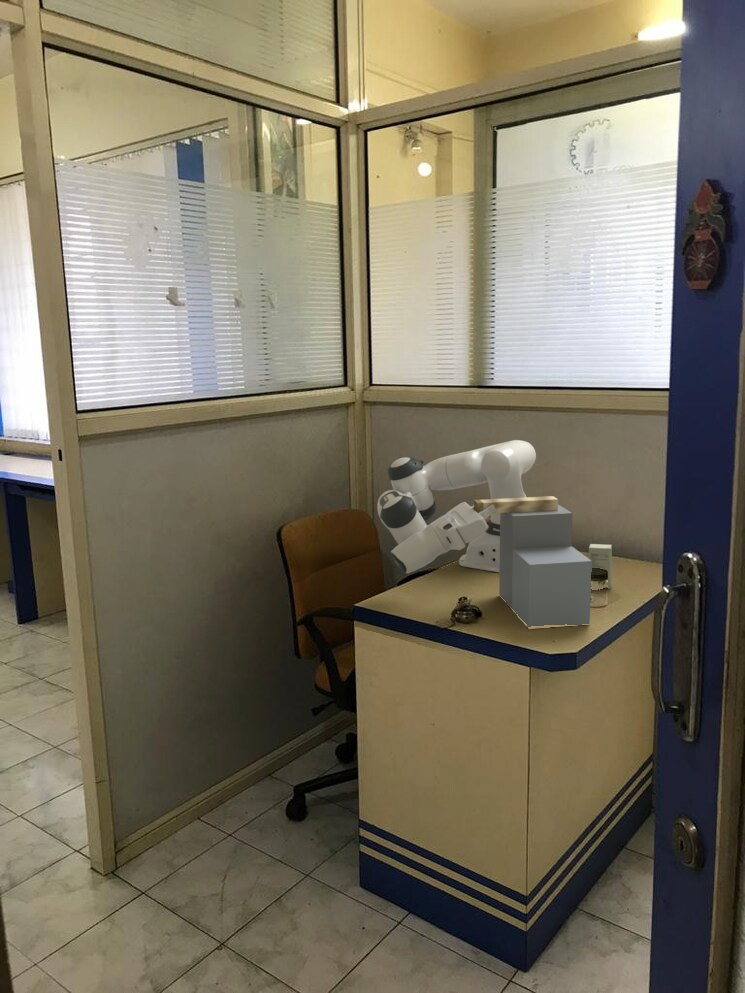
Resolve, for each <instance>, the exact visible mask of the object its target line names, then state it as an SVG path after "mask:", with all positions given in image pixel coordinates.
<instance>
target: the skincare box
mask: <svg viewBox="0 0 745 993" xmlns="http://www.w3.org/2000/svg"><path fill="white" fill-rule="evenodd" d="M588 546H589V547H588V559H590V560H591V561H592V568H600V569H605V570H607V571H608V583H607V585H608V589H609V590H610V589H611V587H612V559H613V558H612V557H613V556H612V555H613V554H612V553H613V552H612V550H613V549H612V548H613V547H612V544H605V543H604V544H603V543H602V544H598V543H590V544H589V545H588ZM608 589H607V590H608Z"/></svg>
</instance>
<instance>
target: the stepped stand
mask: <svg viewBox="0 0 745 993" xmlns="http://www.w3.org/2000/svg"><path fill="white" fill-rule="evenodd" d="M572 527H573V513H572V512H571V511H570V510H569V509H567V508H565V507H563V506H561V505H560V504H558V510H551V511H532V512H513V513H500V569H499V572H498V573H499V577H498V578H499V582H498V583H499V584H498V587H499V588H498V592H499V593H498V596H499V595H500V596H501V597H502V598H503V599H504V600H505V601H506V603H507V604H508V605H509V606H510V607H511V608H512V609H513V610H514V611H515V612H516V614H518V616H519V617H520V618H521V619H522V620H523V621H524V622H525V623H526V624H527V626H528V627H531V626H544V625H565V624H567V625H582V624H590V620H591V619H590V618H591V598H592V595H591V592H592V588H591V572H592V561H591V560H590V559H589V557H587V556H586V555H584V554H583V553H582V552H580V551H579V550H577V549H576V548H575V547H574V546H572V538H573V537H572V536H573V535H572V534H573V531H572V530H573V528H572ZM500 596H499V597H500ZM506 603H505V604H506ZM507 604H506V605H507ZM590 625H591V624H590Z"/></svg>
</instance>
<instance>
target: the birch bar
mask: <svg viewBox="0 0 745 993" xmlns="http://www.w3.org/2000/svg"><path fill="white" fill-rule="evenodd" d="M491 504H492V505H494V507H495V508H496V511H495V512H493V513H491V514H494V513H513V512H532V511H551V510H558V505H559V499H558V498H557V497H555V496H553V495H552V496H551V495H548V496H528V497H527V496H526V497H525V498H505V499H491V498H490V499H488V498H487V499H473V505H474V510H475V511H476V512H477V513H479V512H481V511H484V510H485V509H486V507H487V506H489V505H491Z"/></svg>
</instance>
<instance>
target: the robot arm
mask: <svg viewBox="0 0 745 993" xmlns="http://www.w3.org/2000/svg"><path fill="white" fill-rule="evenodd" d="M536 459H537V454H536V450H535V448H534V446H533V445H532V444H531V443H530V442H528V441H525V440H521V439H520V440H519V439H513V440H508V441H504V442H501V443H497V444H491V445H488V446H483V447H480V448H476V449H473V450H468V451H463V452H459V453H458V452H457V453H454V454H450V455H445V456H442V457H439V458H436V459H435V460H431V461H430V462H427V463H426V462H425V461H423V460H419V459H418V458H416V457H412V456H405V457H401V458H398V459H396V460H394V461H393V462H391V463H390V464H389V466H388V468H387V476H388V480H390V483H391V487H392V489H391V490H390V489H389V490H386V491H384V492H383V493H381V495H380V496H379V497H378V500H377V504H376V505H377V506H376V508H377V515H378V518H379V519H380V521H381V523H382V524H383V525H384V526H385V528H387V530H389V532H390V533H391V535H392V537H393V538H394V540H395V542H396V543H397V545H396V546H394V548H393V549H392V550H391V551H390V557H391V559H392V561H393V562H394V564H395V565H396V566H397V567H398V569H399V570H400V571H401V573H404V574H410V573H413V572H416V571H417V570H419V569H421V568H424V567H426V566H427V565H428V564H431V563H432V562H434V560H435V559H436V558H437V557H439V556H441V555H443V554H446V553H448V552H449V551H452V550H456V551H461V550H463V549H464V548H466V544H468V545H467V548H466V553H465V554H463V555H462V556H460V557H459V560H458V564H459V565H460V567H465V568H471V569H475V570H476V569H477V570H484V571H488V572H496V573H499V569H500V513H494V514H491V513H493V512H495V511H496V508H495V507H494V505H492V504H491V505H489V506H487V507H486V509H485V510H484V511H481V512H479V513H477V512H476V511H475V510H474V504H473V505H472V506H471V505H470V504H469V503H467V502H466V501H463V502H461V503H458V505H456V506H455V507H453V508H451V509H450V510H448V511H447V512H446V513H445V514H442V515H440V517H438V518H437V519H435V520H433V521H432V522H431V523H429V524H427V523H426V522H427V521H428V520H430V519H431V518H432V517H434V516H435V514H436V513H437V504H436V501H435V499H434V497H433V492H432V491H450V490H457V489H462V488H468V487H473V486H477V485H478V486H479V485H482V484H485V483H487V484H488V489H489V495H490V499H505V498H525V497H527V495H526V493H525V491H524V488H523V483H522V475H524V474H526V473H527V472H529V471H530V470H531V469H532V467H533V466H534V464H535V462H536Z"/></svg>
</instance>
